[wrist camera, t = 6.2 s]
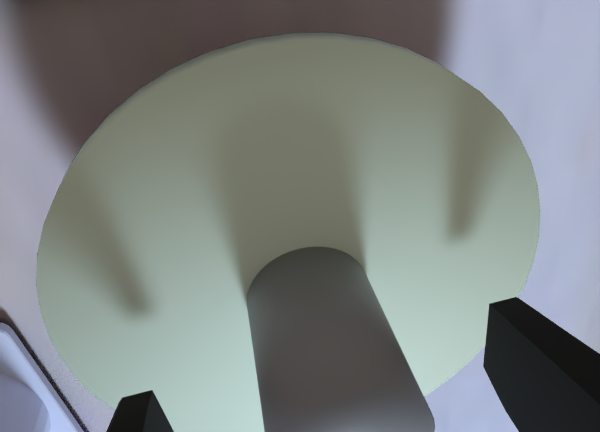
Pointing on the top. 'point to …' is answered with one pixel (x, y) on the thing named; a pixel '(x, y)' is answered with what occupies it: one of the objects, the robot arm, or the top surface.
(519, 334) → the robot arm
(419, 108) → the lid
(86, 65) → the top surface
